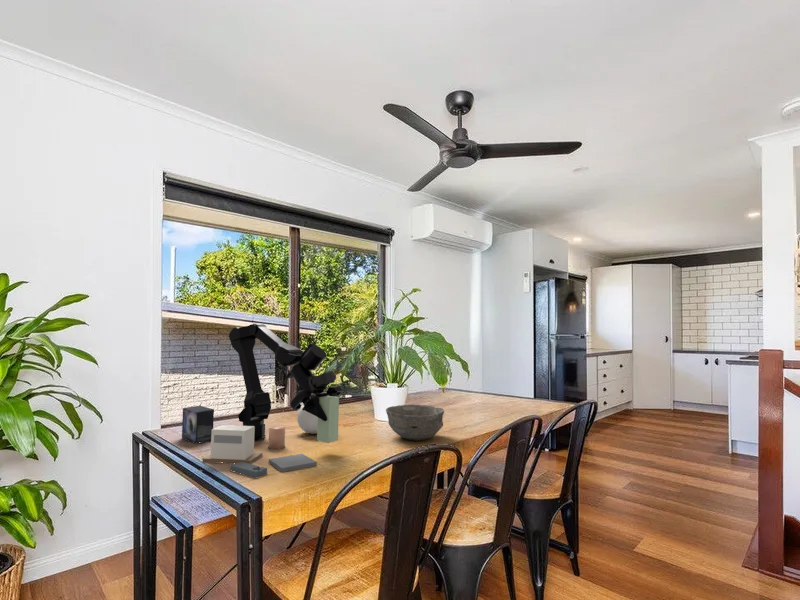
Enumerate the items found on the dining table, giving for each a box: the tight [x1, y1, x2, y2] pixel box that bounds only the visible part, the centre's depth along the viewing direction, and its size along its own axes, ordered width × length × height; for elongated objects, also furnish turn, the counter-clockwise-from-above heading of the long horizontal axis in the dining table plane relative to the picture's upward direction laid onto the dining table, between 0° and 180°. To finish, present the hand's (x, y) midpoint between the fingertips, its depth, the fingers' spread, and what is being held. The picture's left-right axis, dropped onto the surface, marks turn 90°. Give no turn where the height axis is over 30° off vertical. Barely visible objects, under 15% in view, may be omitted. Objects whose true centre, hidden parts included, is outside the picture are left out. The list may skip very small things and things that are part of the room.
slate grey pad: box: [268, 453, 318, 473], centre depth 123 cm, size 10×10×1 cm
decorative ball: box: [296, 403, 318, 435], centre depth 161 cm, size 12×12×12 cm
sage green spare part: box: [316, 396, 340, 444], centre depth 135 cm, size 4×4×13 cm
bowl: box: [385, 404, 445, 442], centre depth 156 cm, size 21×21×10 cm
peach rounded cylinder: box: [268, 425, 286, 450], centre depth 141 cm, size 5×5×6 cm
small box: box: [181, 405, 215, 444], centre depth 150 cm, size 11×6×10 cm, turn 50°
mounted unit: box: [202, 424, 263, 464], centre depth 127 cm, size 14×8×9 cm, turn 84°
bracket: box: [229, 462, 268, 479], centre depth 116 cm, size 4×10×2 cm, turn 57°
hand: (331, 419), depth 134 cm, fingers closed on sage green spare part, 4 cm apart
